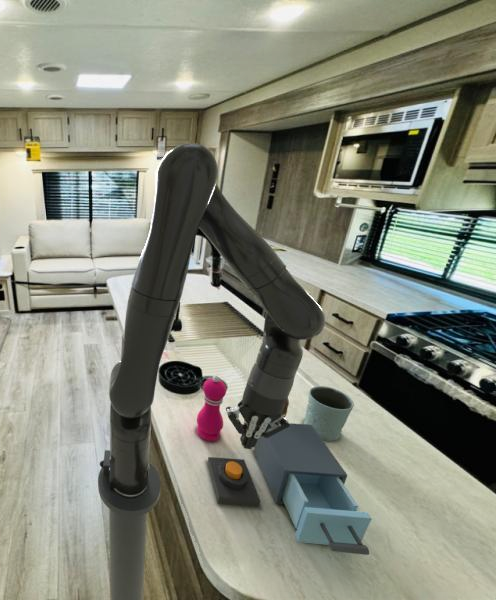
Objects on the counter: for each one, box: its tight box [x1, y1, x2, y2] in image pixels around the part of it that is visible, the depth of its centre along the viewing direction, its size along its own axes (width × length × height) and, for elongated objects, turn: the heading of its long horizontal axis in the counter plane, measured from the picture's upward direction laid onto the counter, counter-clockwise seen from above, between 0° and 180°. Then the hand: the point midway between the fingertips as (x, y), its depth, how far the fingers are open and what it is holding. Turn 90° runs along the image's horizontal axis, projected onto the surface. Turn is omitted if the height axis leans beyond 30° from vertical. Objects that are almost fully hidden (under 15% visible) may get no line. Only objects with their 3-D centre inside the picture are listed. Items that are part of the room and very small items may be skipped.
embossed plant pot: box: [303, 385, 355, 442], centre depth 89 cm, size 10×10×12 cm
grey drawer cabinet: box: [252, 422, 348, 505], centre depth 75 cm, size 15×13×11 cm
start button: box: [225, 461, 242, 480], centre depth 75 cm, size 4×4×2 cm
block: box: [206, 456, 261, 508], centre depth 76 cm, size 9×11×4 cm
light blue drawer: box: [282, 473, 373, 556], centre depth 65 cm, size 18×11×9 cm, turn 174°
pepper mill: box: [196, 375, 227, 442], centre depth 88 cm, size 7×7×20 cm
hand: (246, 445), depth 70 cm, fingers closed
